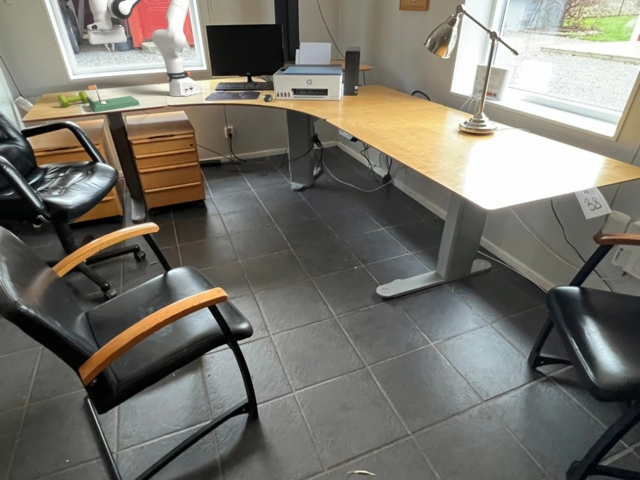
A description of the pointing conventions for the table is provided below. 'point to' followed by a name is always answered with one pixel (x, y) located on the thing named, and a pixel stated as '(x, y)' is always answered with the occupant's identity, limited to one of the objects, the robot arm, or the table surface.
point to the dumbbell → (72, 99)
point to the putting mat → (111, 102)
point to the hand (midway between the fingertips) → (111, 51)
